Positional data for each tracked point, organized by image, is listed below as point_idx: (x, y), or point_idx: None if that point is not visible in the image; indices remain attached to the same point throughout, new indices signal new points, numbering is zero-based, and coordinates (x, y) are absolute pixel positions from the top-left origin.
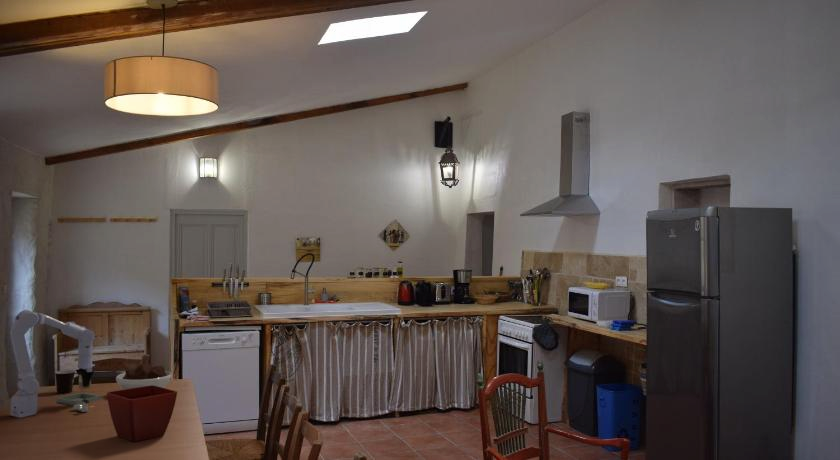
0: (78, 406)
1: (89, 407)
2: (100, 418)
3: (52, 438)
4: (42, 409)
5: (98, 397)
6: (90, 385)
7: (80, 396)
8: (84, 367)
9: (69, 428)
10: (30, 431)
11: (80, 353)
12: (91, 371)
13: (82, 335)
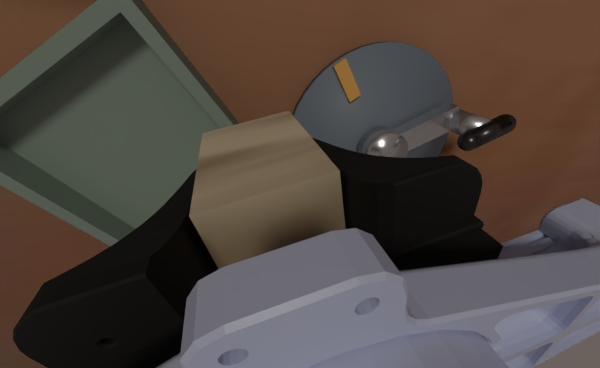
0: (404, 151)
1: (359, 92)
2: (543, 50)
3: (589, 187)
4: None
5: (144, 11)
6: (295, 122)
7: None
8: (538, 359)
9: (554, 157)
10: (494, 238)
11: None
12: (586, 208)
13: None
